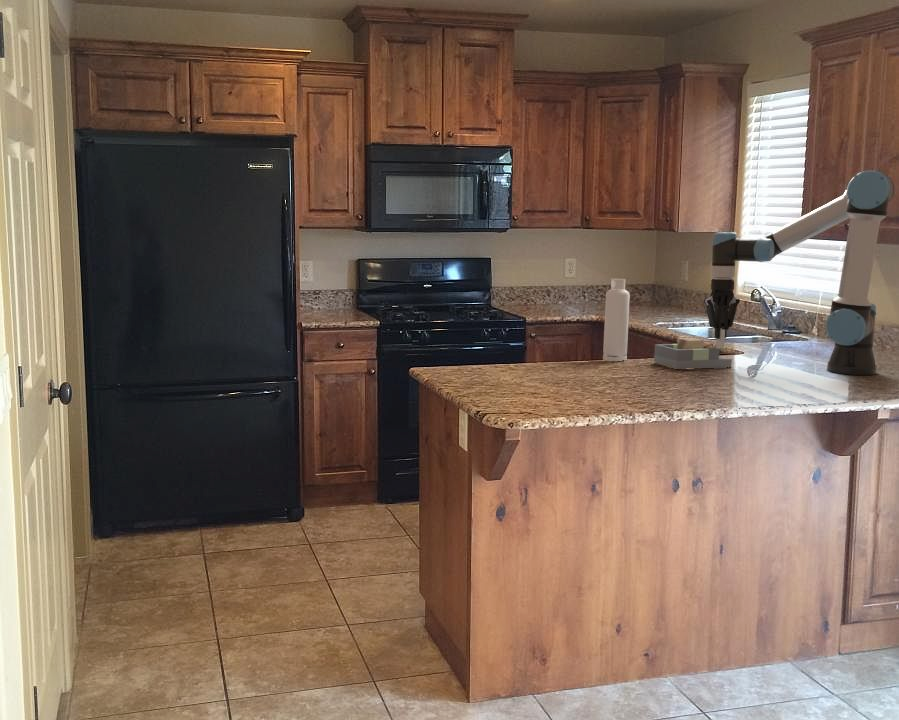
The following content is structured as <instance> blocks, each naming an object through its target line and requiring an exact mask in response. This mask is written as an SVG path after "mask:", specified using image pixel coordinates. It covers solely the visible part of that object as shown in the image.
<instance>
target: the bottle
mask: <svg viewBox="0 0 899 720" xmlns="http://www.w3.org/2000/svg"><path fill="white" fill-rule="evenodd" d="M610 281H611V282H610V283H611V284H610V288H609V289H608V290H607V291H606V293H605V302H604V303H605V307H604V309H605V310H604V329H603V346H602V347H603V349H602V350H603V351H602V352H603V353H602V361H605V362H612V361H622V360H627V359H628V357H627V353H628V339H629V337H628V335H629V318H630V317H629V316H630V299H631V297H630V296H631V295H630V292H629V291H628V290H626V281H627V280H626V278H611V280H610ZM627 361H628V360H627Z"/></svg>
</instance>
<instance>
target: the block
mask: <svg viewBox="0 0 899 720" xmlns="http://www.w3.org/2000/svg"><path fill="white" fill-rule="evenodd" d="M676 344H677V349H703V348H704V340H703V339H699V338H695V337H682V338H680V337H679V338H678V337H677V341H676Z"/></svg>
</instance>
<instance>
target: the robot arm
mask: <svg viewBox="0 0 899 720" xmlns="http://www.w3.org/2000/svg"><path fill="white" fill-rule="evenodd" d="M847 184H848V185H847V188H846V189H845V191H844V193H843V194H842V195H841V196H839V197H837V198H835V199H833V200H832V201H829V202H828V203H826V204H824V205H822V206H820V207H818V208H816V209H814V210H812V211H811V212H808V213H807V214H804V215H802V216H801V217H799V218H797V219H796V220H793V221H792V222H790V223H787V224H785V225H784V226H781V227H780V228H778V229H776V230H774V231H772V232H769V233H768V234H767V235H765V236H763V237H760V238H758V237H757V238H756V237H755V238H749V237H748V238H746V237H745V238H739V237H738V236H737V233H736V232H735V231H734V232H732V231H731V232H730V231H729V232H728V231H726V232H725V231H724V232H722V231H720V232H719V231H717V232H715V233H714V234H713V239H712V245H711V246H712V250H711V251H712V253H711V254H712V255H711V257H712V258H711V259H712V261H711V278H712V279H711V280H710V289H711V293H710V294H709V295H710V297H708V298H705V299H703V303H704V304H705V306H706V313H707V319H708V325H709V328H710V327H711V328H712V329H714V339H715V348H718V349H719V350H721V349H723V350H724V349H725V340H726V339H727V333H728V331H727V330H729V329H730V328H731V327H733V325H734V320H735V315H736V312H737V309H738V306H739V304H740V301H741V300H740V298H736V297H735V293H734V290H735V279H734V278H735V277H736V262H760V263H764V262H766V263H767V262H771V261H772V260H773V259H775V257H776V256H778V255H780V254H782V253H783V252H785V251H788V250H789V249H792V248H794V247H795V246H797V245H799V244H801V243H803V242H805V241H808V240H809V239H811V238H813V237H815V236H817V235H819V234H821V233H822V232H824V231H825V232H826V230H829V229H831V228H833V227H834V226H837V225H839V224H841V223H842V222H844V221H846V220H848V219H849V225H848V232H847V238H846V245H845V251H844V257H843V263H842V268H841V275H840V283H839V288H838V294H837V296H835V297H834V298H833V299H832V300H831V305H830V312H829V315H828V317H827V320H826V321H825V331H826V334H827V336H828V337H829V339H830V340H831V341H832V342H834V347H833V349H832V352H831V354H830V358H829V361H828V362H827V365H826V370H827V371H828V372H831V373H835V374H844V375H850V376H852V375H854V376H855V375H856V376H871V375H876V374H877V369H878V368H877V364H876V359H875V355H874V351H873V347H874V336H875V335H874V334H875V324H876V323H875V322H876V315H877V311H876V310H877V309H876V305H875V304H874V303H872V302H870V300H869V299H868V296H869V291H870V285H871V284H870V283H871V281H872V280H871V279H872V278H871V277H872V273H873V266H874V261H875V253H876V248H877V241H878V235H879V232H880V231H879V229H880V225H881V222H882V221H883V220H884V219H885V218H887V215H888V209H889V204H890V202H891V201H892V199H893V197H894V195H895V191H896V189H895V184H894V181H893V180H892V178H891V177H890V176H889V175H888V174H886V173H884V172H881V171H878V170H874V169H872V170H871V169H870V170H868V169H867V170H863V171H861V172H858V173H857V174H855V175H854V176H853V177H852V178H851V179H850V181H849V182H848V183H847Z"/></svg>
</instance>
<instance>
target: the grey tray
mask: <svg viewBox="0 0 899 720" xmlns="http://www.w3.org/2000/svg"><path fill="white" fill-rule="evenodd" d="M654 362H656V363H659V364H662V365H665V366H668V367H671V368H674V369H673V370H675V369H686V368H714V369H730V368H729V367H731V368H732V358H729V357H724V356H721V355H720V349H719V348H716V347H711V348H706V347H705V348H704V347H703V349H677V343H671V344H670V343H663V344H662V343H661V344H660V343H657V344H654V354H653V363H654ZM668 367H667V368H668ZM727 367H728V368H727ZM671 368H670V369H671Z"/></svg>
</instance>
